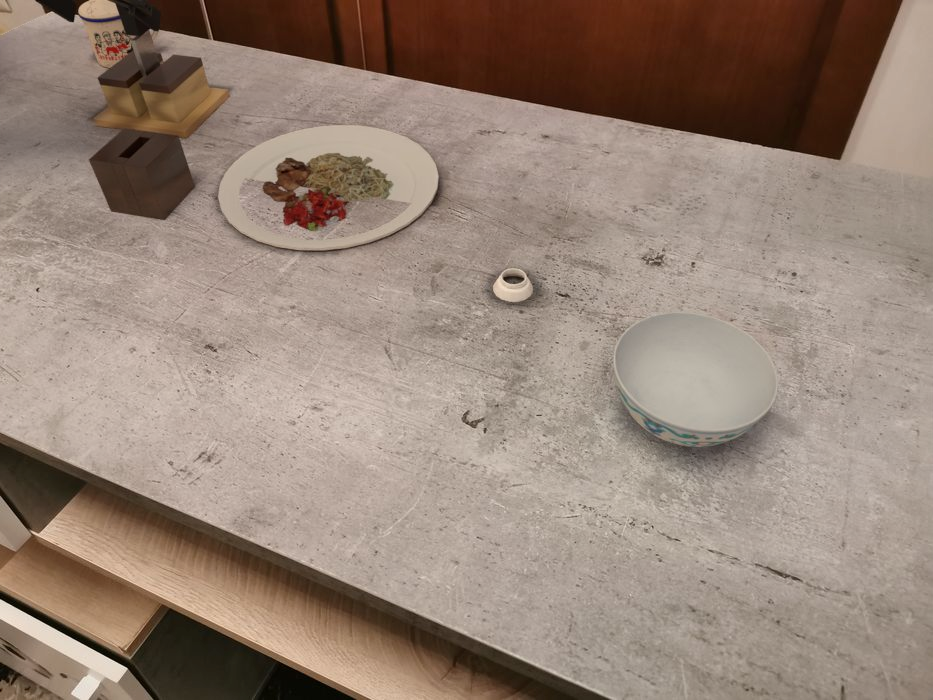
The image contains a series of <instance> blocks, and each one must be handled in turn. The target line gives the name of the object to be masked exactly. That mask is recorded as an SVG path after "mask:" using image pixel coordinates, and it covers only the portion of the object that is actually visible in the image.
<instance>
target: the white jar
mask: <svg viewBox="0 0 933 700" xmlns="http://www.w3.org/2000/svg"><path fill="white" fill-rule="evenodd" d="M507 277H518V278H522V279H523V280H522V281H521V282H519V283H509V282H506V281H505V280H504V278H507ZM492 289H493V290H492V292H493V293H494V295H495V297H497V298H499V299H500V300H502V301H505V302H509V303H519V302H522V301H525V300H527V299H528V298H531V296H532V294H533V292H534V285H533V283H532V282H531V279H529V277H528V276H527V273H526V272H525V271H523V270H522V269H519V268H514V267H513V268H507V269H505V270H503V271H502V272H501V273H500V275H499V276H498V277H497V279H496V280H495V282H494V283H493V285H492Z"/></svg>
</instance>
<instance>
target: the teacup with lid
mask: <svg viewBox="0 0 933 700" xmlns="http://www.w3.org/2000/svg"><path fill="white" fill-rule="evenodd" d="M78 17H79V18H80V19H81V21H82V24H83V26H84V30H85V31H86V34H87V37H88V39H89V42H90V44H91V48H92V50H93V53H94V56H95V58H96V61H97V63H98V64H99V65H100V66H102V67H104V68H106V69H109V68H111V67H112V66H113V65H115V64H116V63H117V62H119V61H120V60H121V59H123V58H124V57H125V56H126V55H128V54H129V53H130V52H132V51H133V47H132V44H131V41H130V40H132V39H133V38H134V37H136V36H132V35H126V33H125V30H124V27H123V24H122V21H121V19H120V16H119V13H118V10H117V7H116V4H115V3H113V2H111V1H108V0H88V1H85V2H83V3H82V4H81V5H80V6H79V8H78ZM158 34H159V32H158V31H153V33H152V34H151V37H152V40H153V41H155V40H156V39H157V37H158Z"/></svg>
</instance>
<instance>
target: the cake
mask: <svg viewBox="0 0 933 700" xmlns="http://www.w3.org/2000/svg"><path fill="white" fill-rule="evenodd" d="M156 53H157V56H158V59H159V62H160V66H159V67H158V68H156V69H155V70H154V71H153V72H151V73H150V74H149V75H148V76H147V77H145V78H144V79H143V76H142V74H141V71H140V68H139V65H138V62H137V59H136V56H135V53H134V50H133V51H132V52H130V53H129V54H128V55H126V56H125V57H124V58H123V59H121V60H120V61H119V62H117V63H116V64H115V65H113V66H112V67H111V68H107V69H106V71H104V72H103V73H101V74H100V75H99V76H98V77H97V80H98V83H99V85H100V88H101V91H102V93H103V96H104V98H105V101H106V104H107V107H105V109H103V110H102V111H100V112H99V113H98V114H97V115H96V116H95V117H93V118H92V121H93V123H94V125H95V126H96V127H102V128H108V129H109V128H111V129H116V130H123V129H124V128H128V129H135V130H142V131H149V132H156V133H163V134H171V135H178V136H179V139H180V138H181V139H188V138H189V137H190V136H191V135H192V134H193V133H194V132H196V130H197V129H198V128H199V127H200V126H201V125H202V124H203V123H205V121H206V120H207V119H208V118H209V117H210V116H211V115H213V113H214V112H215V111H216V110H217V109H218V108H219V107H220V106H221V105H222V104H223V103H224V102H226V100H227V99H228V98H229V97H230V92H229V90H228V89H226V88H221V87H220V88H219V87H210V85H209V81H208V79H207V78H208V77H207V73H206V71H205V67H204V63H203V60H202V57H200V56H199V57H198V56H191V55H181V54H172V55H171V56H170V57H169V58H167V59H166V60H165V61H164V59H163V55H162V53H161V52H156Z"/></svg>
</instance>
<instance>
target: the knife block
mask: <svg viewBox="0 0 933 700" xmlns="http://www.w3.org/2000/svg"><path fill="white" fill-rule="evenodd" d="M88 162H89V164H90V166H91V168H92V171H93V173H94V175H95V178H96V180H97V182H98V185H99V187H100V189H101V192H102V194H103V196H104V198H105V201H106V203H107V206H108V207H109V210H110V212H111V213H117V214H123V215H130V216H134V217H135V216H136V217H141V218H147V219H154V220H159V221H166V219H168V217H169V216H170V215H171V214H172V213H173V212H174V211H175V210H176V209H177V208H178V207H179V206H180V205H181V203H182V202H183V201H184V200H185V199H186V198H187V197H188V196H189V195H190V193H192V191H193V190H194V189H195V188H196V185H195V183H194V179H193V176H192V173H191V170H190V167H189V164H188V161H187V157H186V154H185V151H184V148H183V145H182V143H181V139H180V137H179V136H178V135H171V134H163V133H156V132H149V131H142V130H135V129H128V128H124V129H121V131H119V132H118V133H117V134H116V135H115V136H114V137H112V138H111V139H110V140H109V141H108V142H107V143H106V144H104V145H103V146H102V147H101V148H100V149H99V150H98V151H96V152H95V153H94V154H93V155H92V156H90V158H88Z"/></svg>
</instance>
